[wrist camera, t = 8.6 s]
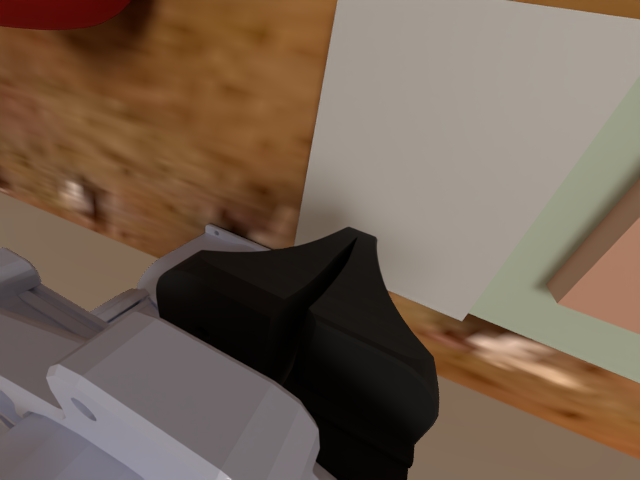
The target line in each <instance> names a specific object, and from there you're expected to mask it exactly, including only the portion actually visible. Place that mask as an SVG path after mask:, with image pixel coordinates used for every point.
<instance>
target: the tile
mask: <svg viewBox="0 0 640 480" xmlns="http://www.w3.org/2000/svg"><path fill="white" fill-rule="evenodd" d="M546 285H547V287H548V289H549V291H550V292H551V294H552V296H553V297H554V299H555V301H556V303H557V304H559V305H562V306H565V307H567V308H570V309H573V310H575V311H578V312H581V313H584V314H586V315H589V316H592V317H594V318H597V319H600V320H602V321H605V322H608V323H610V324H613V325H616V326H618V327H621V328H624V329H627V330H629V331H632V332H635V333H637V334H640V178H639V179H638V180H637V181H636V182H635V184H634V185H633V186H632V187H631V188H630V189H629V190H628V191H627V193H626V194H625V195H624V196H623V197H622V198H621V199H620V201H619V202H618V203H617V204H616V205H615V206H614V207H613V209H612V210H611V211H610V212H609V213H608V214H607V215H606V217H605V218H604V219H603V220H602V221H601V222H600V223H599V225H598V226H597V227H596V228H595V229H594V230H593V231H592V233H591V234H590V235H589V236H588V237H587V238H586V239H585V241H584V242H583V243H582V244H581V245H580V246H579V247H578V249H577V250H576V251H575V252H574V253H573V254H572V255H571V257H570V258H569V259H568V260H567V261H566V262H565V263H564V265H563V266H562V267H561V268H560V269H559V270H558V271H557V273H556V274H555V275H554V276H553V277H552V278H551V279H550V281H549V282H548V283H547V284H546Z"/></svg>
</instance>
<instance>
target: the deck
mask: <svg viewBox="0 0 640 480" xmlns="http://www.w3.org/2000/svg"><path fill="white" fill-rule="evenodd" d="M639 76H640V20H639V19H632V18H625V17H618V16H611V15H604V14H597V13H590V12H583V11H576V10H569V9H562V8H555V7H548V6H541V5H534V4H527V3H521V2H514V1H507V0H338V1H337V7H336V13H335V18H334V24H333V29H332V35H331V41H330V46H329V52H328V58H327V63H326V69H325V74H324V80H323V86H322V91H321V97H320V102H319V108H318V114H317V119H316V125H315V130H314V136H313V142H312V147H311V153H310V159H309V164H308V170H307V175H306V181H305V187H304V192H303V198H302V203H301V209H300V215H299V220H298V226H297V232H296V237H295V243H294V246H298V245H302V244H306V243H309V242H312V241H315V240H318V239H321V238H323V237H326V236H328V235H330V234H333V233H335V232H337V231H339V230H342V229H344V228H346V227H352V228H354V229H357V230H359V231H362V232H365V233H367V234H370V235H373V236H375V237H376V238H377V240H378V241H377V255H378V261H379V266H380V270H381V274H382V277H383V281H384V283H385V286H386V289H387V290H388V291H391V292H393V293H396V294H398V295H400V296H403V297H405V298H408V299H410V300H412V301H415V302H417V303H419V304H422V305H424V306H427V307H429V308H431V309H434V310H436V311H439V312H441V313H443V314H446V315H448V316H451V317H453V318H455V319H458V320H460V321H462V320H463V319H464V318H465V316H466V315H467V313H468V312H469V311H470V309H471V308H472V307H473V305H474V304H475V302H476V301H477V300H478V298H479V297H480V295H481V294H482V293H483V291H484V290H485V289H486V287H487V286H488V284H489V283H490V282H491V280H492V279H493V277H494V276H495V275H496V273H497V272H498V271H499V269H500V268H501V266H502V265H503V264H504V262H505V261H506V260H507V258H508V257H509V255H510V254H511V253H512V251H513V250H514V248H515V247H516V246H517V244H518V243H519V242H520V240H521V239H522V237H523V236H524V235H525V233H526V232H527V231H528V229H529V228H530V226H531V225H532V224H533V222H534V221H535V219H536V218H537V217H538V215H539V214H540V213H541V211H542V210H543V208H544V207H545V206H546V204H547V203H548V201H549V200H550V199H551V197H552V196H553V195H554V193H555V192H556V190H557V189H558V188H559V186H560V185H561V184H562V182H563V181H564V179H565V178H566V177H567V175H568V174H569V172H570V171H571V170H572V168H573V167H574V166H575V164H576V163H577V161H578V160H579V159H580V157H581V156H582V154H583V153H584V152H585V150H586V149H587V148H588V146H589V145H590V143H591V142H592V141H593V139H594V138H595V137H596V135H597V134H598V132H599V131H600V130H601V128H602V127H603V125H604V124H605V123H606V121H607V120H608V119H609V117H610V116H611V114H612V113H613V112H614V110H615V109H616V107H617V106H618V105H619V103H620V102H621V101H622V99H623V98H624V96H625V95H626V94H627V92H628V91H629V90H630V88H631V87H632V85H633V84H634V83H635V81H636V80H637V78H638V77H639Z"/></svg>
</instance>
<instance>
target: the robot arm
mask: <svg viewBox="0 0 640 480" xmlns="http://www.w3.org/2000/svg"><path fill="white" fill-rule="evenodd" d="M377 241H378V240H377V238H376V237H375V236H373V235H370V234H367V233H365V232H362V231H359V230H357V229H354V228H352V227H346V228H344V229H342V230H339V231H337V232H335V233H333V234H330V235H328V236H326V237H323V238H321V239H318V240H315V241H312V242H309V243H306V244H302V245H298V246H294V247H289V248H284V249H275V250H271V249H268V248H266V247H264V246H261V245H259V244H257V243H254V242H252V241H250V240H247V239H245V238H242V237H240V236H238V235H235V234H233V233H231V232H228V231H226V230H224V229H221V228H219V227H217V226H214V225H212V224H208V225H206V226H205V233H204V234H202V235H201V236H199V237H197V238H195V239H193V240H192V241H190V242H188V243H186V244H184V245H182V246H181V247H179V248H177V249H175V250H173V251H172V252H170V253H168V254H166V255H164V256H163V257H161V258H159V259H158V260H156V261H155V262H154V263H153V264H152V265H151V266H150V267H149V268H148V269H147V270H146V271H145V272H144V274H143V275H142V277H141V278H140V280H139V282H138V285H137V289H129V290H127V291H125V292H123V293H121V294H120V295H118V296H116V297H114V298H112V299H110V300H109V301H107V302H105V303H104V304H102V305H100V306H99V307H97V308H95V309H94V310H92V311H91V312H88V311H86V310H85V309H83V308H81V307H79V306H78V305H76V304H74V303H73V302H71V301H70V300H68V299H66V298H65V297H63V296H61V295H59V294H58V293H56V292H54V291H53V290H51V289H49V288H48V287H46V286H44V285H43V284H41V279H40V276H39V274H38V272H37V270H36V269H35V267H34V266H33V265H32V264H31V263H30V262H29V261H28V260H26V259H25V258H23V257H21V256H19V255H18V254H16V253H14V252H13V251H11V250H9V249H7V248H3V247H2V248H0V480H407V474H408V468H410V467H411V466H412V464H413V458H414V445H415V444H416V442H417V441H418V440H419V439H420V438H421V437H422V436H423V435H424V434H425V433H426V432H427V431H428V430H429V429H430V428H431V427H432V426H433V424H434V423H435V421H436V419H437V417H438V412H439V388H438V381H437V374H436V367H435V362H434V357H433V356H432V355H431V354H430V352H429V351H428V350H427V349H426V348H425V346H424V345H423V344H422V343H421V342H420V341H419V339H418V338H417V337H416V336H415V335H414V334H413V332H412V331H411V330H410V328H409V327H408V325H407V324H406V323H405V321H404V320H403V318H402V317H401V315H400V314H399V312H398V310H397V309H396V307H395V305H394V303H393V302H392V300H391V298H390V296H389V293H388V291H387V289H386V286H385V283H384V281H383V277H382V274H381V270H380V266H379V261H378V255H377Z"/></svg>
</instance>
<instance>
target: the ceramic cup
mask: <svg viewBox="0 0 640 480" xmlns="http://www.w3.org/2000/svg"><path fill="white" fill-rule="evenodd" d="M130 1H131V0H0V26H4V27H13V28H24V29H38V30H67V29H78V28H86V27H91V26H95V25H98V24H101V23H103V22H105V21H107V20H109V19H110V18H112V17H114V16H116V15H117V14H119V13H120V12H121V11H122V10H123V9H124V8H125V7H126V6H127V5H128V4H129V2H130Z"/></svg>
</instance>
